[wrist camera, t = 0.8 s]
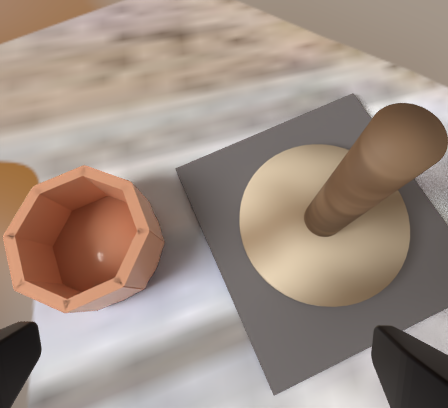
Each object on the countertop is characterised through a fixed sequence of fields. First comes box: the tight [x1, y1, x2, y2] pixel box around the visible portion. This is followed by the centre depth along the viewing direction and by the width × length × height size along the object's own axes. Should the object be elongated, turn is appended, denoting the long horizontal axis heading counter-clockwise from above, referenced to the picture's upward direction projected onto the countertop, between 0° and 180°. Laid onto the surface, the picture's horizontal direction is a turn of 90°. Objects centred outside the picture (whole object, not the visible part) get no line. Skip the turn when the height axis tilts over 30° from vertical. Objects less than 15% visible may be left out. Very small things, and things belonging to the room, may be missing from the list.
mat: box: [176, 93, 448, 395], centre depth 22 cm, size 17×16×1 cm
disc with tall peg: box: [239, 103, 448, 307], centre depth 16 cm, size 12×12×12 cm
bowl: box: [3, 165, 165, 313], centre depth 20 cm, size 8×8×4 cm
